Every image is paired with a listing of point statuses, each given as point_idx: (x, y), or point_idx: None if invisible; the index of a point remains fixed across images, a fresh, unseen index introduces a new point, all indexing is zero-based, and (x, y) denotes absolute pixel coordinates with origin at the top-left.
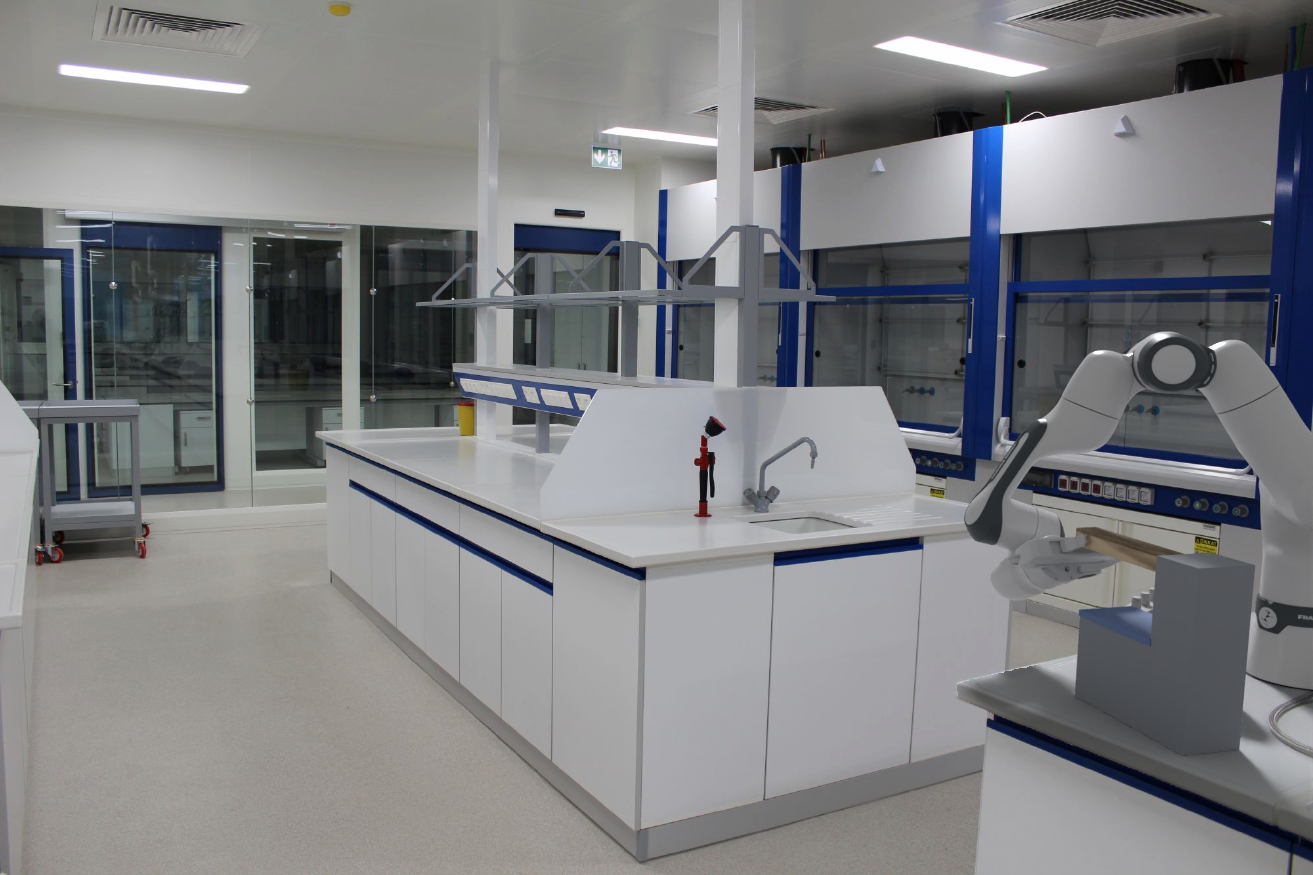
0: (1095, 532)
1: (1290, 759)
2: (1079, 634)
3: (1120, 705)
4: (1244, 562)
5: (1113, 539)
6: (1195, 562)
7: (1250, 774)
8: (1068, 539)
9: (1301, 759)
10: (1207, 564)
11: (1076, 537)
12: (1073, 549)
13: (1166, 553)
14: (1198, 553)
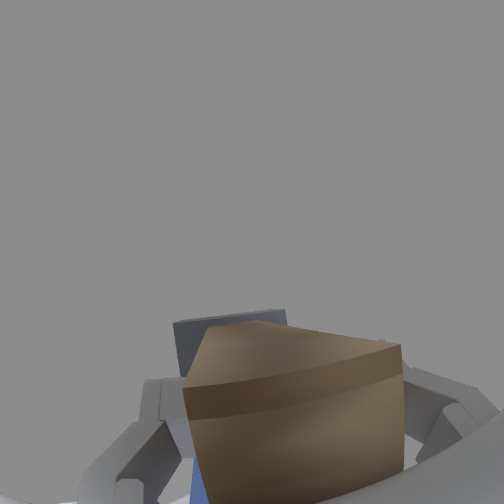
0: (306, 337)
1: (188, 500)
2: None
3: None
4: (182, 320)
5: (288, 326)
6: (251, 312)
7: None
8: (449, 385)
9: (178, 500)
10: (242, 313)
11: (405, 368)
12: (417, 436)
13: (242, 322)
14: (201, 320)
